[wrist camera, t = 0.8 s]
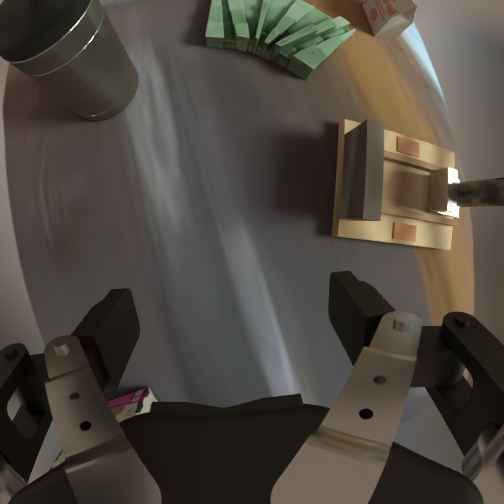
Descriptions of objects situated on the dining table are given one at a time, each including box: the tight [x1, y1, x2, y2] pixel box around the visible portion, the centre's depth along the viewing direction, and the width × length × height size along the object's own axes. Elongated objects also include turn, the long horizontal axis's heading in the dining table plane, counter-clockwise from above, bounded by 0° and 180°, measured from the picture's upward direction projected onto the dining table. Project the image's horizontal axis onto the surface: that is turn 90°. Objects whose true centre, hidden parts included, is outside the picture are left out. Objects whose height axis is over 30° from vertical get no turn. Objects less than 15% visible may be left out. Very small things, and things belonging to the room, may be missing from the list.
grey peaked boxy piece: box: [361, 0, 417, 40], centre depth 28 cm, size 4×7×10 cm, turn 8°
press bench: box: [331, 119, 459, 250], centre depth 32 cm, size 18×14×8 cm
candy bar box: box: [49, 387, 159, 471], centre depth 27 cm, size 11×5×16 cm, turn 116°
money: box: [205, 0, 356, 80], centre depth 30 cm, size 20×16×5 cm
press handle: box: [429, 167, 504, 217], centre depth 24 cm, size 6×5×21 cm
